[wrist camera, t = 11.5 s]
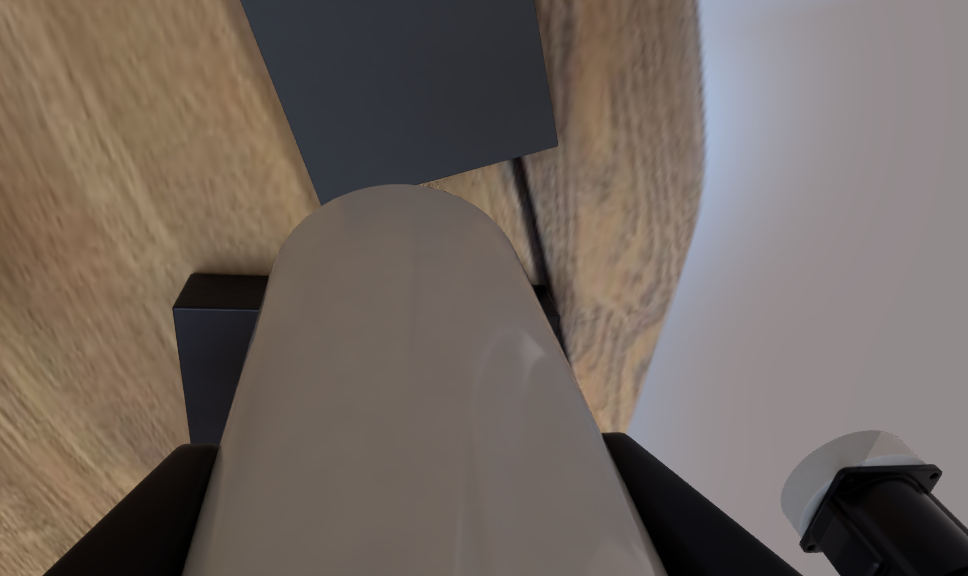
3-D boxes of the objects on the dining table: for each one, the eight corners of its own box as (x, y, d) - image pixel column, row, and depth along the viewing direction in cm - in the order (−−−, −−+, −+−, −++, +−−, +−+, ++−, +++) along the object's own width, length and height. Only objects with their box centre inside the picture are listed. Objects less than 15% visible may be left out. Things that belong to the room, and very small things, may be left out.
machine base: (545, 284, 22) (576, 346, 19) (506, 484, 27) (526, 563, 24) (190, 272, 20) (152, 341, 16) (216, 493, 25) (190, 582, 21)
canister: (541, 190, 11) (1013, 875, 3) (506, 400, 13) (719, 1112, 5) (260, 174, 10) (-178, 1122, 2) (273, 403, 12) (96, 1280, 4)
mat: (553, 140, 20) (558, 146, 19) (324, 204, 20) (323, 211, 19) (506, -140, 16) (510, -143, 15) (219, -65, 16) (214, -65, 15)
